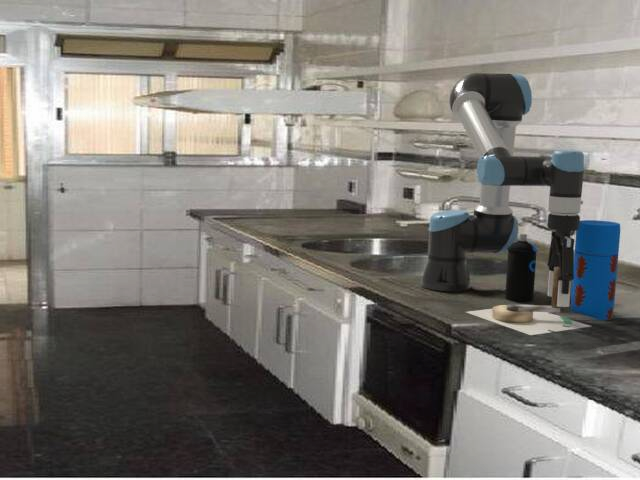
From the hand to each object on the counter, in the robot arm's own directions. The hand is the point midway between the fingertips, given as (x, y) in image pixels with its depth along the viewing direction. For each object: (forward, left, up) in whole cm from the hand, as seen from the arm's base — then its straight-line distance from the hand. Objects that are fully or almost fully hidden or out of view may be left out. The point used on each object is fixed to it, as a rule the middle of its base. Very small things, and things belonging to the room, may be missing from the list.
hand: (557, 301), depth 195 cm
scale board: (-4, -6, -6) cm, 10 cm away
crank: (-4, -6, -5) cm, 9 cm away
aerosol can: (-22, +8, -7) cm, 24 cm away
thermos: (-4, +17, -7) cm, 18 cm away
